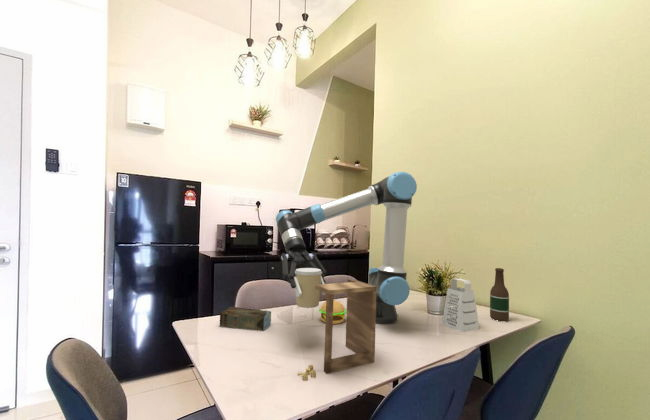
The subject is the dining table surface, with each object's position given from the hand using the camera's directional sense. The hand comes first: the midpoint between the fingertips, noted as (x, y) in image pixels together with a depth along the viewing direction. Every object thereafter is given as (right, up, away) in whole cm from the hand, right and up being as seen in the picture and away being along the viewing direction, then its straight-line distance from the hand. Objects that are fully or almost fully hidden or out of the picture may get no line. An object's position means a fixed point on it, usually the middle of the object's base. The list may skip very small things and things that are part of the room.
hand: (312, 294), depth 100 cm
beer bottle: (+87, -24, +42) cm, 99 cm away
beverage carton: (-28, -19, +20) cm, 39 cm away
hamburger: (+7, -20, +31) cm, 38 cm away
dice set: (0, -18, -18) cm, 26 cm away
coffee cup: (-2, -5, +3) cm, 6 cm away
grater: (+63, -22, +29) cm, 73 cm away
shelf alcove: (+8, -18, -7) cm, 21 cm away
